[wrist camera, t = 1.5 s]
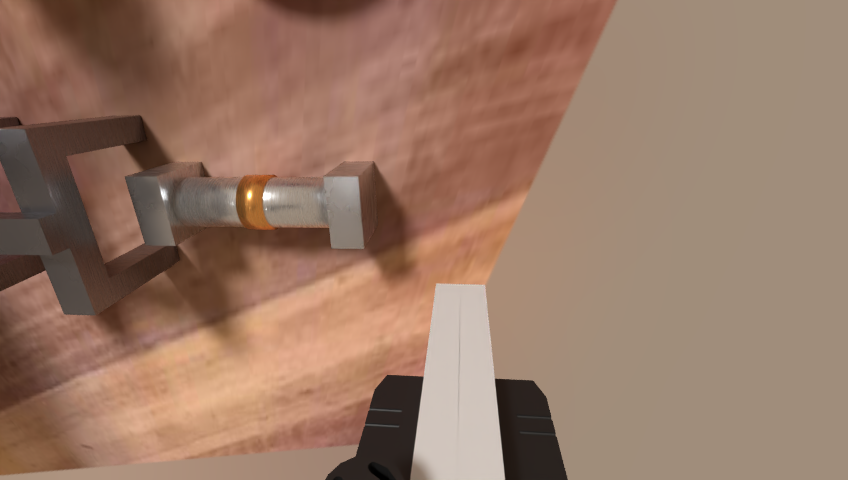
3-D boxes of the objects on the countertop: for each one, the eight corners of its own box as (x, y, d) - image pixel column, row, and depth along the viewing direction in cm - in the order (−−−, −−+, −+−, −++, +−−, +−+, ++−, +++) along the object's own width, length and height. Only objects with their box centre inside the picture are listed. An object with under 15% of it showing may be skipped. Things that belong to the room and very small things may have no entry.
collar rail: (47, 258, 31) (-111, 326, 23) (-10, 117, 27) (-229, 135, 19) (179, 260, 30) (67, 333, 22) (140, 115, 26) (-17, 133, 18)
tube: (189, 222, 29) (145, 245, 25) (174, 161, 28) (124, 176, 23) (377, 224, 28) (364, 248, 24) (373, 161, 26) (358, 176, 22)
